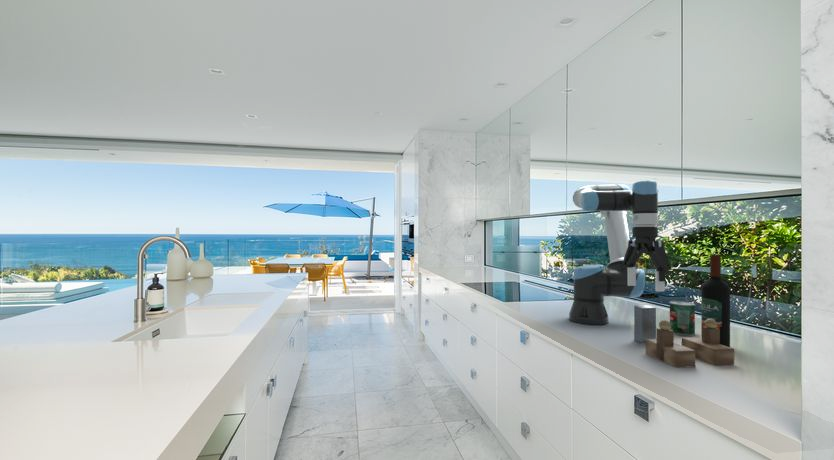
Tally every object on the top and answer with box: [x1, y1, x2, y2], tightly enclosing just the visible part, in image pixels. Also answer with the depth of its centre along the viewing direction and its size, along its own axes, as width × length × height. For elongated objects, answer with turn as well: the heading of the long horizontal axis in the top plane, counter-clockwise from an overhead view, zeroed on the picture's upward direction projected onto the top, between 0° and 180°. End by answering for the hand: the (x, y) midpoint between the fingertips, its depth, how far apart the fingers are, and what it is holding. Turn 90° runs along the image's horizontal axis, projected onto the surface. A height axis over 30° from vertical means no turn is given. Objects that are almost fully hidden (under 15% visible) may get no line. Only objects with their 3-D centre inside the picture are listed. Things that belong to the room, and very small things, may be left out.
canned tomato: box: [669, 300, 696, 336], centre depth 144 cm, size 8×8×11 cm
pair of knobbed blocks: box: [645, 319, 735, 368], centre depth 115 cm, size 12×18×12 cm, turn 97°
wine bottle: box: [700, 254, 731, 348], centre depth 128 cm, size 8×8×30 cm
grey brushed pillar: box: [633, 304, 657, 344], centre depth 132 cm, size 4×5×12 cm
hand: (645, 288), depth 132 cm, fingers open, 13 cm apart
